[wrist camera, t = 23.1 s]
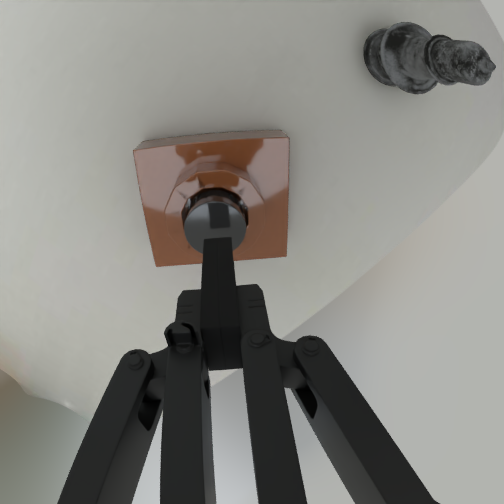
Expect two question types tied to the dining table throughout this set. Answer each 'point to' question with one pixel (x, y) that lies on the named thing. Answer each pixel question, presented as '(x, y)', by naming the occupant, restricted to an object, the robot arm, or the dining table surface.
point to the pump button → (214, 219)
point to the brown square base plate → (215, 178)
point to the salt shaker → (424, 59)
